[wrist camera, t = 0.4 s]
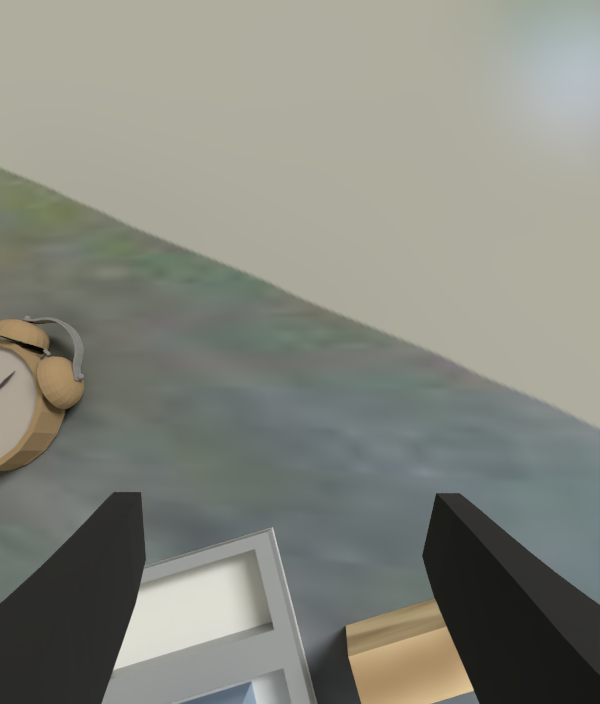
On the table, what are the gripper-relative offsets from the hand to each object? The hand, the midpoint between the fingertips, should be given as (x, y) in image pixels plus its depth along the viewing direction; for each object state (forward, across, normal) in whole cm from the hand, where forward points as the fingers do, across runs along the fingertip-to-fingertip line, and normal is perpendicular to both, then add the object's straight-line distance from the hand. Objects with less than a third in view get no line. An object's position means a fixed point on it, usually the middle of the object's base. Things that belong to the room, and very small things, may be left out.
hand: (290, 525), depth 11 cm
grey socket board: (+15, +4, +26) cm, 30 cm away
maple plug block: (+14, -10, +23) cm, 29 cm away
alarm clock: (+30, +22, +12) cm, 39 cm away
